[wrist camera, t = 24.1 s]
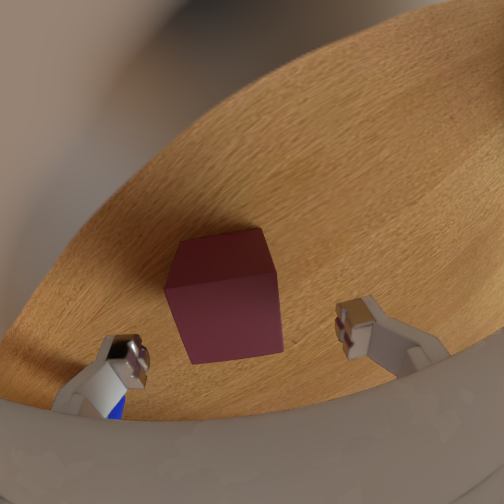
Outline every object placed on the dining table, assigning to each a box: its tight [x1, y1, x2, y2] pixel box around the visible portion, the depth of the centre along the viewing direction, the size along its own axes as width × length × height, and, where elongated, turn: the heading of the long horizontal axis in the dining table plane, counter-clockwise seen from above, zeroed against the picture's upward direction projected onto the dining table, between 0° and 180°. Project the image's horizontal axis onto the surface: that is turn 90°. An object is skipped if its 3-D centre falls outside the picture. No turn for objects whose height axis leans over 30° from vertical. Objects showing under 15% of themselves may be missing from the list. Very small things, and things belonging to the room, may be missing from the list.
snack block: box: [164, 228, 284, 364], centre depth 14 cm, size 5×5×5 cm
